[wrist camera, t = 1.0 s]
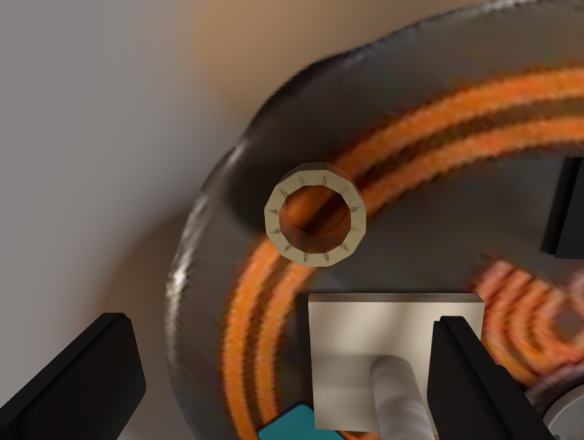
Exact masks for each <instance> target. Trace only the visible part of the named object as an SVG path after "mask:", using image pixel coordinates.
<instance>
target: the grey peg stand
mask: <svg viewBox="0 0 584 440" xmlns="http://www.w3.org/2000/svg"><path fill="white" fill-rule="evenodd" d="M484 305H485V302H484V301H483V300H482V299H481V297H480V296H479V295H478V294H477V293H309V300H308V308H309V326H310V344H311V362H312V380H313V398H314V416H315V429H322V430H342V431H362V432H380V437H381V440H435V438H434V435H438V432H437V430H436V427H435V424H434V421H433V418H432V415H431V412H430V410H429V407H428V402H427V384H428V373H429V363H430V353H431V343H432V332H433V324H434V321H440V317H441V316H463V317H464V318H465V319H466V321H467V322H468V324H469V325H470V326H471V328H472V329H473V331H474V332H475V334H476V335H477V337H478V338H479V340H480V337H481V329H482V321H483V313H484Z"/></svg>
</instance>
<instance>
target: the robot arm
mask: <svg viewBox="0 0 584 440" xmlns="http://www.w3.org/2000/svg"><path fill="white" fill-rule="evenodd" d="M145 391H146V381H145V377H144V373H143V369H142V365H141V360H140V356H139V352H138V348H137V344H136V339H135V335H134V331H133V327H132V323H131V320H130V319H129V318H128V317H126V315H125V314H124V313H103V314H102V315H101V316H99V317H98V318H97V319H96V320H95V321H94V322H93V323H92V324H91V325H90V326H89V327H87V328H86V329H85V330H84V331H83V332H82V333H81V334H80V335H79V336H78V337H77V338H76V339H75V340H73V341H72V342H71V343H70V344H69V345H68V346H67V347H66V348H65V349H64V350H63V351H62V352H61V353H59V354H58V355H57V356H56V357H55V358H54V359H53V360H52V361H51V362H50V363H49V364H48V365H47V366H45V368H43V369H42V370H41V371H40V372H39V373H38V374H37V375H36V376H35V377H34V378H33V379H31V381H29V382H28V383H27V384H26V385H25V386H24V387H23V388H22V389H21V390H20V391H19V392H18V393H16V394H15V395H14V396H13V397H12V398H11V399H10V400H9V401H8V402H7V403H6V404H5V405H4V406H2V407H1V408H0V440H117V438H118V436H119V435H120V433H121V432H122V430H123V428H124V427H125V425H126V424H127V422H128V420H129V419H130V417H131V416H132V414H133V413H134V411H135V409H136V408H137V406H138V405H139V403H140V401H141V400H142V398H143V396H144V394H145ZM427 402H428V407H429V410H430V412H431V415H432V418H433V421H434V424H435V427H436V430H437V432H438V435H439V438H440V440H584V384H583V385H581V386H578V387H576V388H575V389H573V390H571V391H569V392H568V393H566V394H565V395H563V396H562V397H561V398H560V399H558V400H557V401H556V402H555V403H554V404H553V405H552V406H551V407H550V409H549V410H548V411H547V413H546V414H545V416H544V418H543V420H542V419H541V418H540V416H539V415H538V413H537V412H536V411H535V409H534V408H533V406H532V405H531V403H530V402H529V401H528V399H527V398H526V396H525V395H524V393H523V392H522V391H521V389H520V388H519V386H518V385H517V383H516V382H515V381H514V379H513V378H512V376H511V375H510V373H509V372H508V371H507V370H506V369H505V367H503V366H501V365H496V364H495V362H494V361H493V359H492V358H491V356H490V355H489V353H488V352H487V350H486V349H485V347H484V346H483V344H482V343H481V341H480V340H479V338H478V337H477V335H476V334H475V332H474V331H473V329H472V328H471V326H470V325H469V324H468V322H467V321H466V319H465V318H464V317H463V316H441V317H440V321H434V324H433V332H432V343H431V353H430V363H429V373H428V384H427Z"/></svg>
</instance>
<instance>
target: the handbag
mask: <svg viewBox="0 0 584 440" xmlns="http://www.w3.org/2000/svg"><path fill="white" fill-rule="evenodd" d="M549 254H551V255H555V256H554V258H566V259H584V158H575V159H574V162H573V166H572V170H571V173H570V177H569V181H568V184H567V188H566V192H565V196H564V199H563V203H562V207H561V210H560V214H559V218H558V221H557V225H556V229H555V233H554V236H553V240H552V244H551V247H550V251H549Z"/></svg>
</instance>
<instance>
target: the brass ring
mask: <svg viewBox="0 0 584 440" xmlns="http://www.w3.org/2000/svg"><path fill="white" fill-rule="evenodd" d="M308 185H324V186H326V187H328V188H330V189H332V190H334V191H336V192H338V193H340V194H341V195H342V197H343V198H344V200H345V202H346V203H347V205H348V214H347V215H346V217H345V219H344V221H343V222H342V224H341V226H340V227H338V228H336V229H335V230H333V231H331V232H329V233H328V234H318V235H310V234H308V233H306V232H304V231H302V230H300V229H298V228H296V227H295V226H294V224H293V223H292V221H291V220H290V218H289V217H288V215H287V209H286V197H287V196H288V195H289V194H291V193H292V192H294V191H296V190H297V189H299V188H300V187H302V186H308ZM264 213H265V224H266V234H267V236H268V237H269V239H270V240H271V242H272V243H273V244H274V246H275V247H276V249H277V250H278V251H279V253H280V254H282V256H284V257H286V258H288V259H290V260H292V261H294V262H296V263H298V264H300V265H302V266H329V265H330V266H331V265H333V264H335V263H337V262H338V261H340V260H342V259H344V258H346V257H348V256H349V255H351V254H353V252H354V250H355V249H356V247H357V246H358V244H359V242H360V241H361V239H362V238H363V236H364V234H365V233H366V205H365V203H364V200H363V197H362V195H361V192H360V191H359V189H358V187H357V186H356V184H355V182H354V181H353V179H352V178H351V176H350V174H349V173H348V172H346V171H344V170H342V169H341V168H339V167H337V166H335V165H333V164H331V163H329V162H308V163H302V164H300V165H299V166H297V167H296V168H294V169H293V170H291V171H290V172H288V173H286V174H285V175H284V176H283V177H282V178H281V179H280V181H279V182H278V183H277V185H276V186H275V188H274V190H273V192H272V194H271V196H270V198H269V200H268V202H267V204H266V206H265V208H264Z"/></svg>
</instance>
